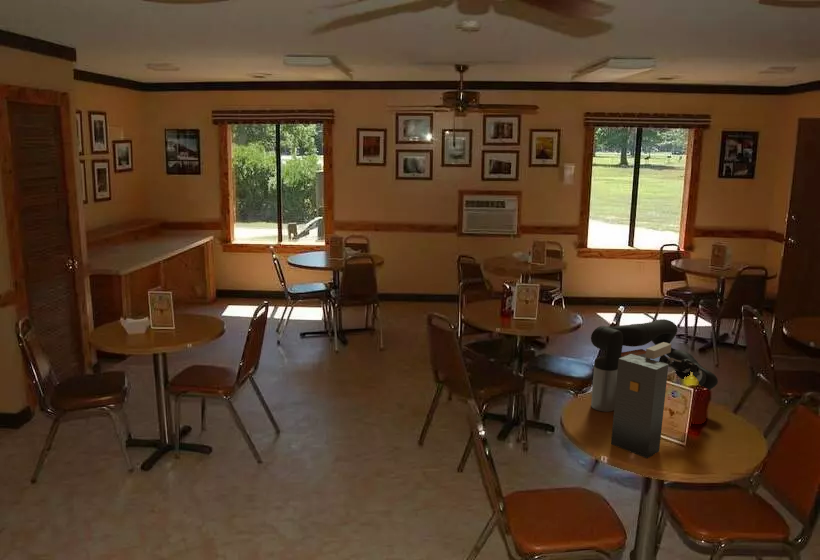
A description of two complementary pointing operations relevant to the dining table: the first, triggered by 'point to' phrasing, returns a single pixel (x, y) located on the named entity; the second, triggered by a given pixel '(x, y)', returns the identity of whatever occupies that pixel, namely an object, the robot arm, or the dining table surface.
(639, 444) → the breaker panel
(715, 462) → the dining table surface
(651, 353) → the handle
